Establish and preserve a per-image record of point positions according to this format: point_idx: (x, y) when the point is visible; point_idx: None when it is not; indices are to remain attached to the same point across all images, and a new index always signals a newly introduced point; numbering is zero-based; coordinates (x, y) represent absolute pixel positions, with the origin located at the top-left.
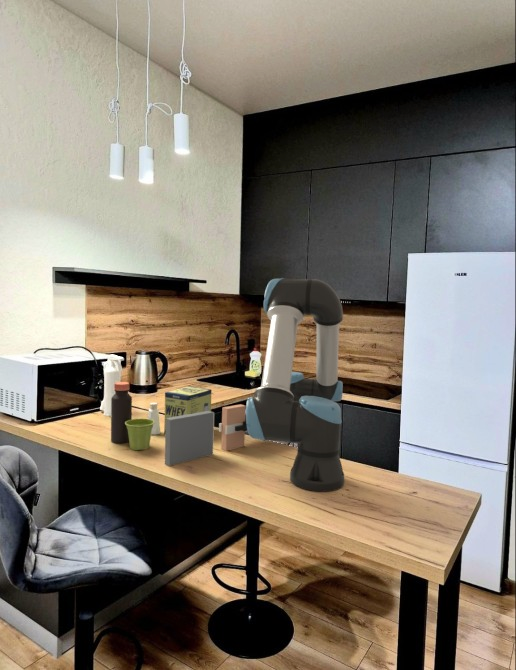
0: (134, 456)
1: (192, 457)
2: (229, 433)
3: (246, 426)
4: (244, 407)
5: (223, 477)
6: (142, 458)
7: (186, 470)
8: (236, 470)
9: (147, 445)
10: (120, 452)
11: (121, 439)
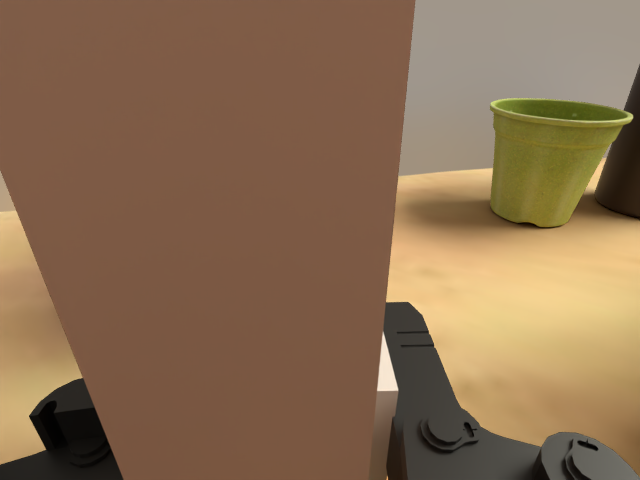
0: (434, 190)
1: None
2: None
3: (37, 462)
4: (23, 71)
5: None
6: (404, 194)
7: None
8: (20, 308)
9: (503, 204)
10: (488, 183)
11: (598, 184)
